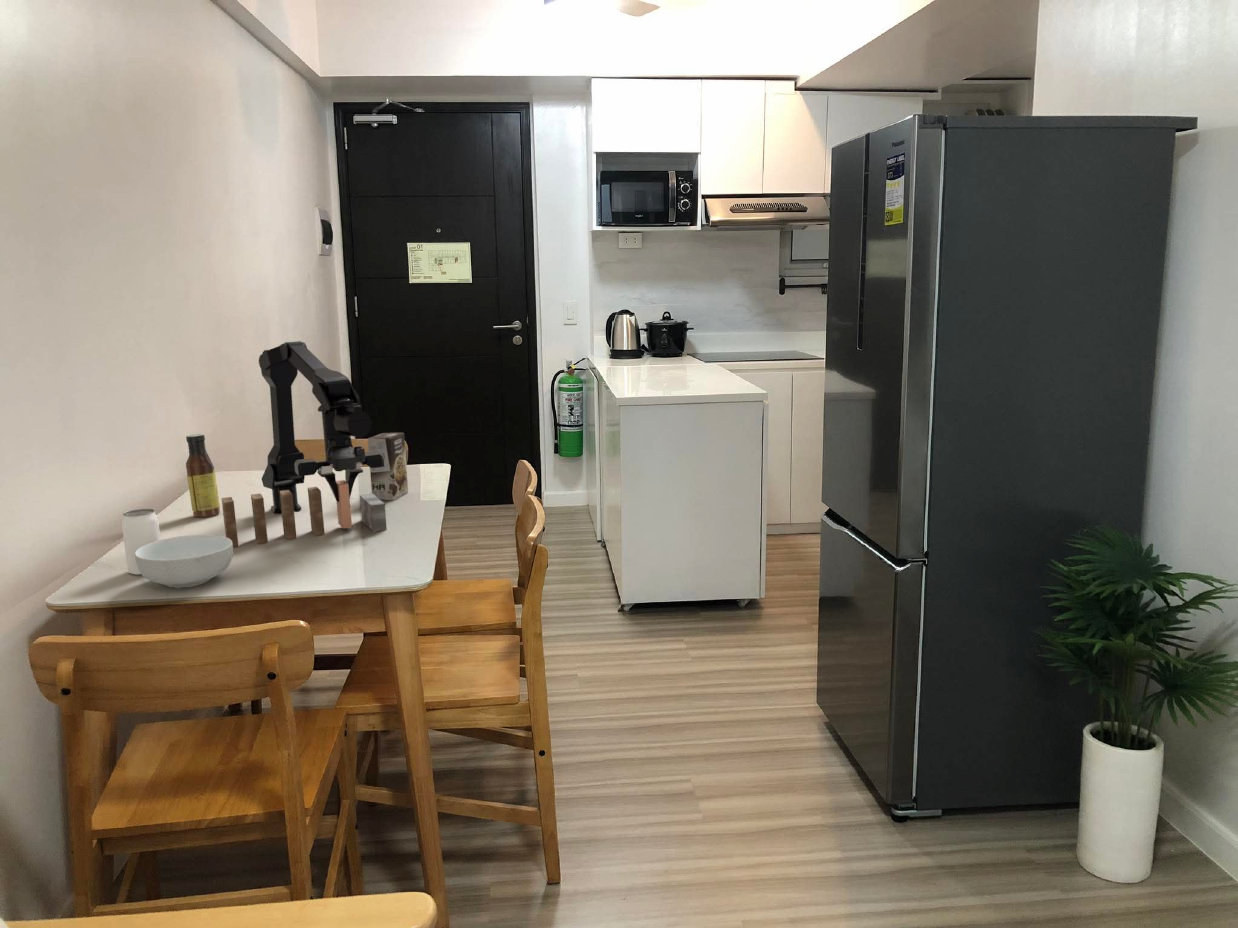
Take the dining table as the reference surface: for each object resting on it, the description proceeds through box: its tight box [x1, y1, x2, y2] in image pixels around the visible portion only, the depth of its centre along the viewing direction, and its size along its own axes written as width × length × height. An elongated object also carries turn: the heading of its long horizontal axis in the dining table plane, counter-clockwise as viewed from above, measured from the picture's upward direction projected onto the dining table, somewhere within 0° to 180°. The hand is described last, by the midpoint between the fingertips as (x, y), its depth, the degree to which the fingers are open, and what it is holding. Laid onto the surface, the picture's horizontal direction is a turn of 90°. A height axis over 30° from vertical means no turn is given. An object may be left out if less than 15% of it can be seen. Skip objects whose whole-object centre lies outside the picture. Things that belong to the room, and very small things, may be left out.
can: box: [121, 508, 162, 575], centre depth 189 cm, size 6×6×12 cm
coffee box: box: [367, 432, 409, 501], centre depth 248 cm, size 9×6×16 cm
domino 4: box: [307, 486, 326, 537], centre depth 215 cm, size 2×5×10 cm, turn 27°
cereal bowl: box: [135, 534, 234, 589], centre depth 182 cm, size 17×17×7 cm
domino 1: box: [221, 496, 239, 549], centre depth 207 cm, size 2×5×10 cm, turn 27°
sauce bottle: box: [185, 433, 221, 518], centre depth 232 cm, size 7×6×20 cm
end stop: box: [359, 493, 388, 533], centre depth 220 cm, size 12×3×6 cm, turn 27°
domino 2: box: [250, 493, 269, 545], centre depth 209 cm, size 2×5×10 cm, turn 27°
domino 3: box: [280, 490, 298, 541], centre depth 212 cm, size 2×5×10 cm, turn 27°
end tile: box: [336, 479, 353, 529], centre depth 217 cm, size 2×5×10 cm, turn 27°
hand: (342, 500), depth 217 cm, fingers closed on end tile, 2 cm apart
